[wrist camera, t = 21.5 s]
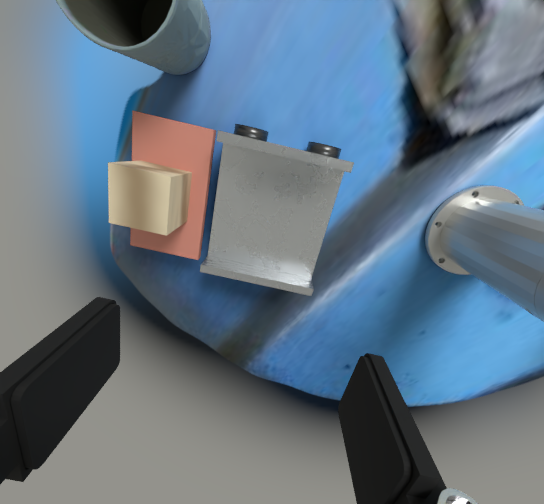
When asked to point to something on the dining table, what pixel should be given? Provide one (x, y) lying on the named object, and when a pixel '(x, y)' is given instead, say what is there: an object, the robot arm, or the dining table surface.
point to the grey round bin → (146, 30)
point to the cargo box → (148, 196)
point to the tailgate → (181, 155)
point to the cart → (271, 209)
